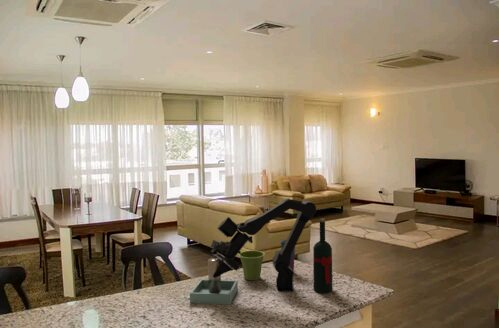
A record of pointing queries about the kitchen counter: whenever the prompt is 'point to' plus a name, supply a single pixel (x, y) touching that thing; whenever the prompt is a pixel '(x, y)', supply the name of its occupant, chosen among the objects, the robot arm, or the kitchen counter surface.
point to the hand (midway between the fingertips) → (211, 275)
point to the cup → (291, 255)
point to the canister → (213, 282)
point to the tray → (224, 297)
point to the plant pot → (251, 264)
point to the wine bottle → (322, 263)
